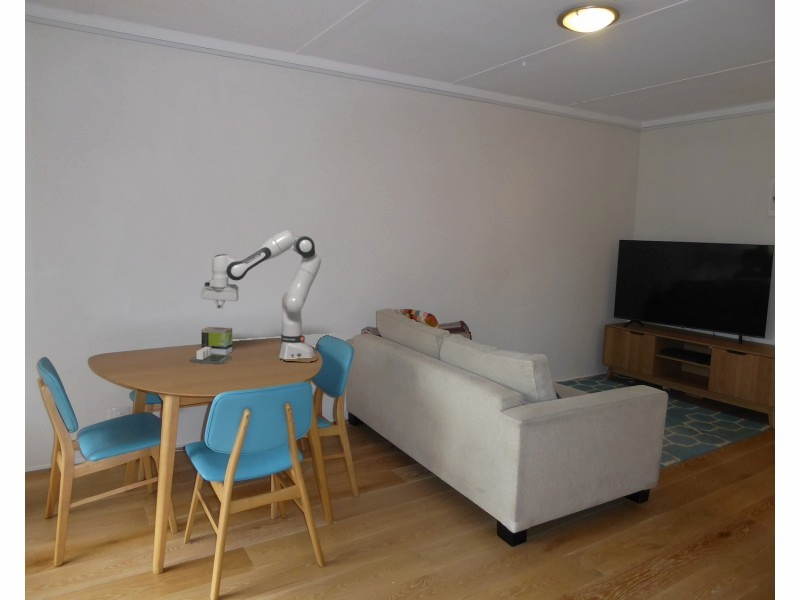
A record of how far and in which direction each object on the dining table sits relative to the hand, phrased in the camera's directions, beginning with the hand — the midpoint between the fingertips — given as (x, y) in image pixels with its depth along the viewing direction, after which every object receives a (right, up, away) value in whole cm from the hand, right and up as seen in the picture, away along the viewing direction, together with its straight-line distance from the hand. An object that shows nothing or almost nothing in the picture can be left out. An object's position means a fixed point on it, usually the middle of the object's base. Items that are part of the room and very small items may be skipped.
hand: (219, 308), depth 307 cm
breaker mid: (-9, -27, 0) cm, 28 cm away
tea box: (-8, -27, +19) cm, 34 cm away
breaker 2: (-8, -27, +4) cm, 28 cm away
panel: (-5, -29, 0) cm, 30 cm away
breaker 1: (-9, -28, -5) cm, 29 cm away
